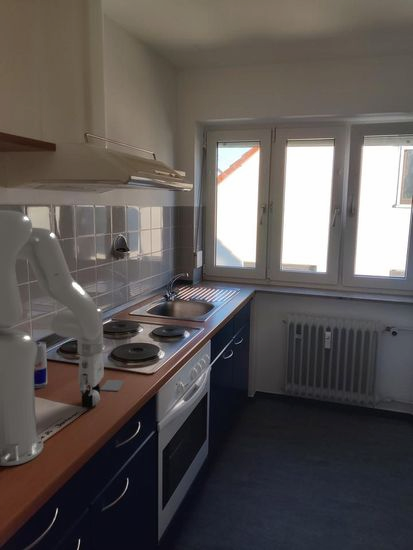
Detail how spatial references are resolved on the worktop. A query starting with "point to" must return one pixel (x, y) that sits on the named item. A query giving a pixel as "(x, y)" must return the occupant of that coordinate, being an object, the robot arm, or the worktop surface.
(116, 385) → the coaster
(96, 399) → the garlic
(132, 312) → the worktop surface
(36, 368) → the white bottle
